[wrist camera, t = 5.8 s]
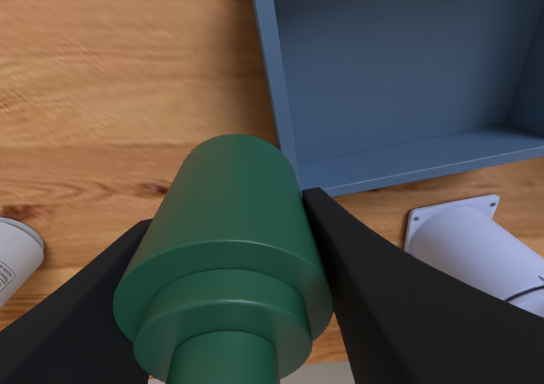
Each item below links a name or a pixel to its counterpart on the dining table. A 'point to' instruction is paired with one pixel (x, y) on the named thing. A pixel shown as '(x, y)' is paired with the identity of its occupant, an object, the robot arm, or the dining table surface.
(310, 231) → the bottle
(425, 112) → the tub
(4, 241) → the energy drink can
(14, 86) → the dining table surface
